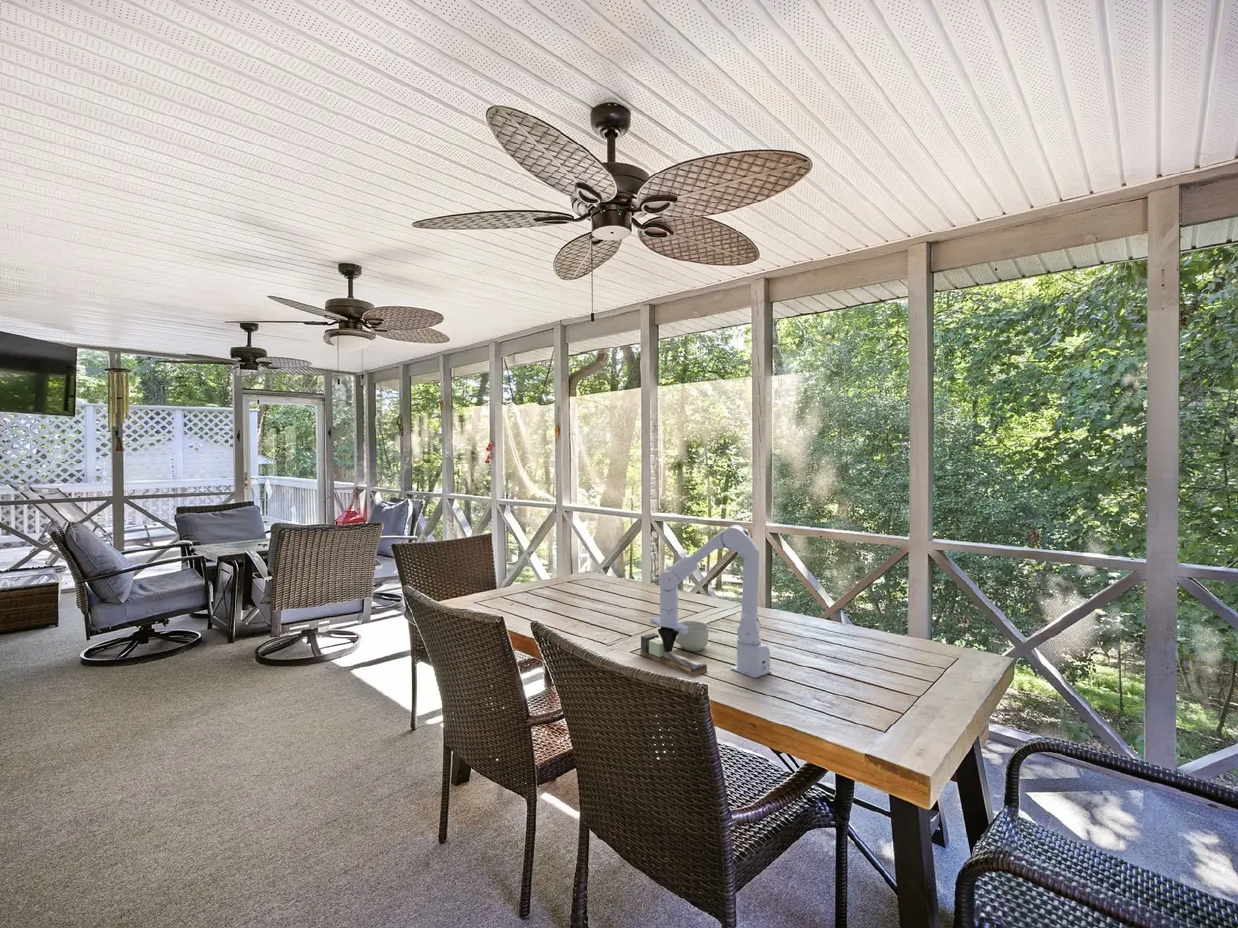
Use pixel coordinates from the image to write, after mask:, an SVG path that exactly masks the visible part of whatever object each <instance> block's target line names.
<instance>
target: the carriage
mask: <svg viewBox="0 0 1238 928" xmlns="http://www.w3.org/2000/svg"><path fill="white" fill-rule="evenodd" d="M663 651H665V649H664V645H663V641H662V638H661V636H659V638H654V639H652V640H649V653H650V654H653V655H655V656H658V657H661V656H663ZM672 651H673V650H672ZM672 651H671V653H673V652H672Z"/></svg>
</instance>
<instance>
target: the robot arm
mask: <svg viewBox="0 0 1238 928" xmlns="http://www.w3.org/2000/svg"><path fill="white" fill-rule="evenodd" d="M726 547H727V548H729V549H731V550H733V551H735V552H736V553H738V556H740V557H741V558H742V559H743V564H742V565H743V567H742V568H743V569H742V570H743V572H742V594H741V595H742V597H741V614H740V623H739V625H738V628H737V630H736V635H737V638H736V665H734V666H731V667H730V669H731V671H735V672H738V673H741V674H743V675H746V676H749V677H751V678H753V679H755V678H759V677H761V676H765V675H767V674H771V673H772V669H771V666H770V665H771V652H770V649H769V647H768V646H766V645H764V643H763V642H762V638H761V637H760V636H759V635H760V631H761V628H762V625H761V624H762V623H761V622H760V620H759V610H758V601H759V581H760V580H759V578H760V577H759V574H760V569H759V568H760V550H759V548H758V547H757V545H756V543H755V541H754V540H753V538H752V536H751V535H750V532H749V531H748V530H747V529H746V528H745V527H743V526H741V525H740V524H732V525H729V526H728V527H727V528H726V529H724V530H722V531H720V532H718V533H717V534H715V535H713V537H711V538H710V539H709V540H708V541H707V542H705V543H704V544H703V545H702V546H701V547H699V548H698V549H697V550H696V551H695V552H693V553H692V554H684V555H680V556H679V557H678V558H677V559H678V560H677V561H676V562H674V563H673V564H672V565H668V566H667V567H666V568H667V570H664V571H663V572H661V574H660V575H659V577H658V581H657V583H658V585H659V587H660V589H659V591H660V593H659V617H657V616H654V617H651V618H650V620H649V621H650V624H649V625H656V626H658V627H660V628H658V629H657V632H658V635H659V637H661V638H662V641H663V645H664V649H665V651H666V652H671V651H673V648H674V645H675V643H676V641H675V639H676V638H677V635H678V633H679V632H682V634H685V633H688V626H685V625H683V624H681V623H680V620H679V594H678V590H679V589H678V587H679V584H680V582H683V581H685V580H686V579H687V578H688V577H689V576H690V575H691V574H693V573H694V572H695V571H697V570H698V564H699V563H700V562H701V561H702V560H703V559H705V558H706V557H707V556H709V555H710V554H712V553H713V552H714V551H715V550H718V549H719V550H720V549H725V548H726Z"/></svg>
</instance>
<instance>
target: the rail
mask: <svg viewBox="0 0 1238 928" xmlns="http://www.w3.org/2000/svg"><path fill="white" fill-rule="evenodd" d="M654 638H660V634H659V633H658V634H657V633H656V632H655V633H654V632H653V633H649V634H644V635H641V636H640V653H639V654H640V655H641V656H643V657H645V658H648V659H650V660H653V661H655V662H657V663H661V664H662V665H665V666H667V667H670V668H673V669H675V670H677V671H680V672H682V673H685V674H686V675H689V676H691V677H696V676H697V675H700V674H704V673H707V672H708V667H707V664H706V663H699V662H697V661H694V660H692V659H689V658H687V657H683V656H682V655H678V654H676V653H674V652H672V653H671V652H666V651H663V656H661V657H658V656H655V655H653V654H650V653H649V640H652V639H654Z"/></svg>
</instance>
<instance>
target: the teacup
mask: <svg viewBox="0 0 1238 928" xmlns="http://www.w3.org/2000/svg"><path fill="white" fill-rule="evenodd" d="M679 623H681V624H683V625H685V626H688V633H685V634H682V632H679V633H678V635H677V637H676V639H675V643H676V644H678V645H679V646H680V647H681V648H682V649H684V650H685V651H688V652H700V651H702V650H703V649H705V647H707V645H708V642H709V631H710V630H709V629H710V625H708V624H707V623H705V622H701V621H697V620H682V621H679Z"/></svg>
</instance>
